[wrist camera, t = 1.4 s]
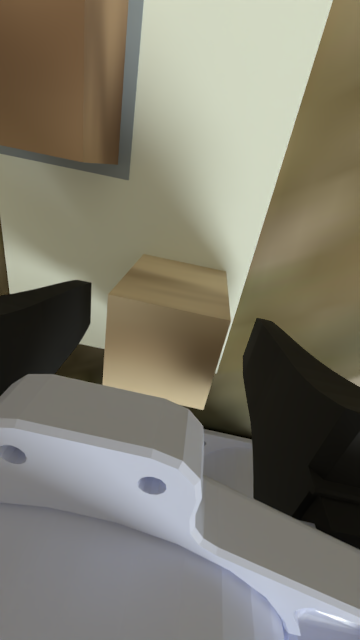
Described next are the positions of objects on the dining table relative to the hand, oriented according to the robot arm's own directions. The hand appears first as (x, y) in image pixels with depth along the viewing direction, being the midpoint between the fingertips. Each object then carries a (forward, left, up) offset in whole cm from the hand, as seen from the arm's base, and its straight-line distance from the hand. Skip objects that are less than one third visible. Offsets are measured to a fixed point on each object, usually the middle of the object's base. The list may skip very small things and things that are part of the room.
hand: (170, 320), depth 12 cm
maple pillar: (0, 0, -2) cm, 2 cm away
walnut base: (+8, +6, -2) cm, 10 cm away
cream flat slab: (+4, +3, -3) cm, 6 cm away
